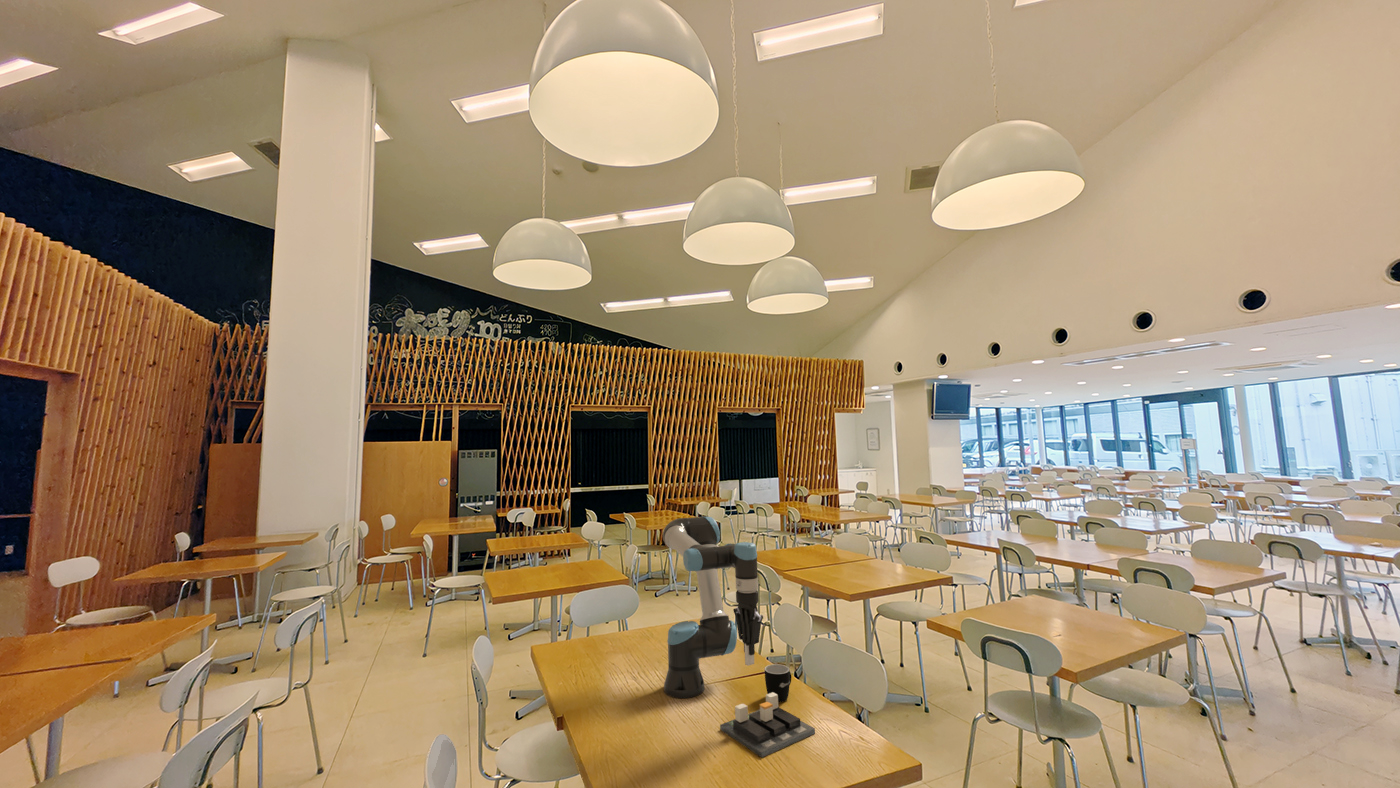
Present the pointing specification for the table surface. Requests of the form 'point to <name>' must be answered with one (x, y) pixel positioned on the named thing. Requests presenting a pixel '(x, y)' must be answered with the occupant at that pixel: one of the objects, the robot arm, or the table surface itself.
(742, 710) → the block
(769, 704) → the block
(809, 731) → the panel
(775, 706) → the breaker far
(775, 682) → the mug
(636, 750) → the table surface
